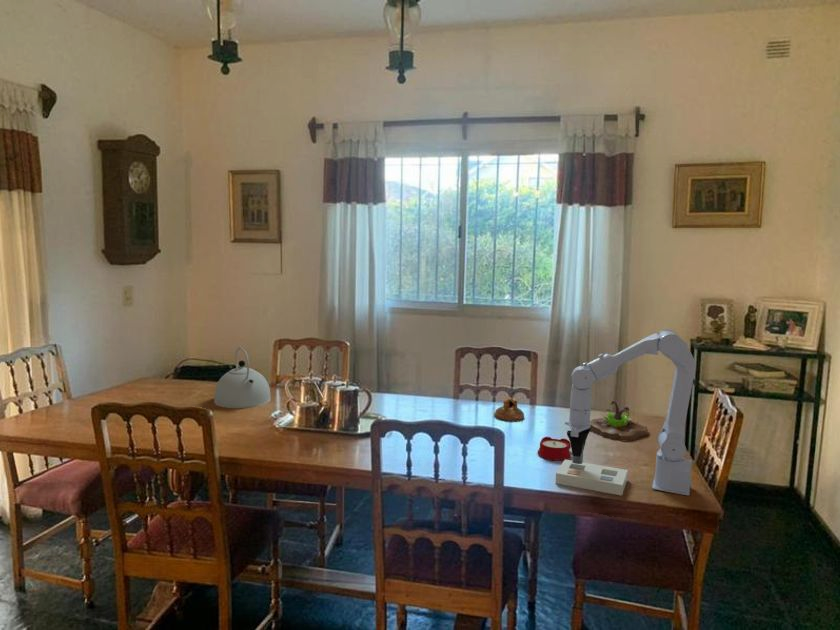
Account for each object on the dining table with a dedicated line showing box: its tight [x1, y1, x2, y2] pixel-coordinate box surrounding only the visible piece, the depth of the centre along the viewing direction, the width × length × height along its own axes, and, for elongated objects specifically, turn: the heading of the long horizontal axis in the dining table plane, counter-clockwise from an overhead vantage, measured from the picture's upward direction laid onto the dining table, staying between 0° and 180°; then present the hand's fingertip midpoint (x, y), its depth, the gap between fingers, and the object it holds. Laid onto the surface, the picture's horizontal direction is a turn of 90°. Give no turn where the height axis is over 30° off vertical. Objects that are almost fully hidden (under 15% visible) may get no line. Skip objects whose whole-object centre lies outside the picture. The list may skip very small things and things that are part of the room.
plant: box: [590, 400, 649, 441], centre depth 218 cm, size 20×20×11 cm
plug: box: [571, 444, 585, 464], centre depth 174 cm, size 3×3×9 cm
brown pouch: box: [493, 397, 525, 422], centre depth 233 cm, size 12×12×7 cm
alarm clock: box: [537, 436, 572, 462], centre depth 194 cm, size 10×6×15 cm
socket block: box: [555, 459, 629, 496], centre depth 171 cm, size 18×12×3 cm, turn 65°
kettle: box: [213, 346, 272, 409], centre depth 248 cm, size 25×23×22 cm
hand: (577, 454), depth 174 cm, fingers closed on plug, 3 cm apart
